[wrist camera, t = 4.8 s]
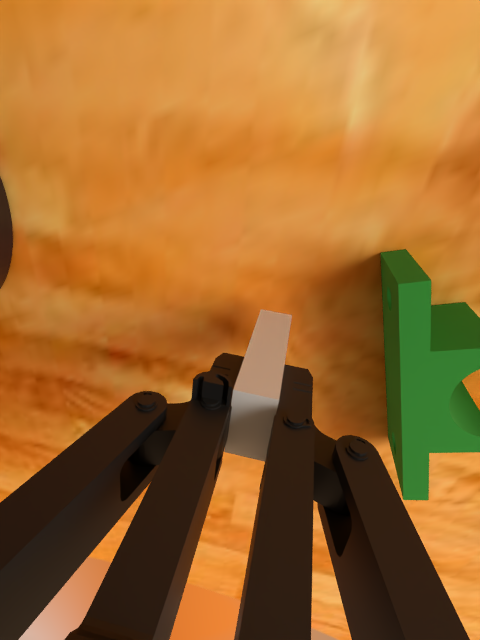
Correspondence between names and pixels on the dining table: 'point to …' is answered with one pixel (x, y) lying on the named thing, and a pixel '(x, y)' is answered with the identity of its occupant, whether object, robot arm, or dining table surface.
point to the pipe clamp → (426, 372)
